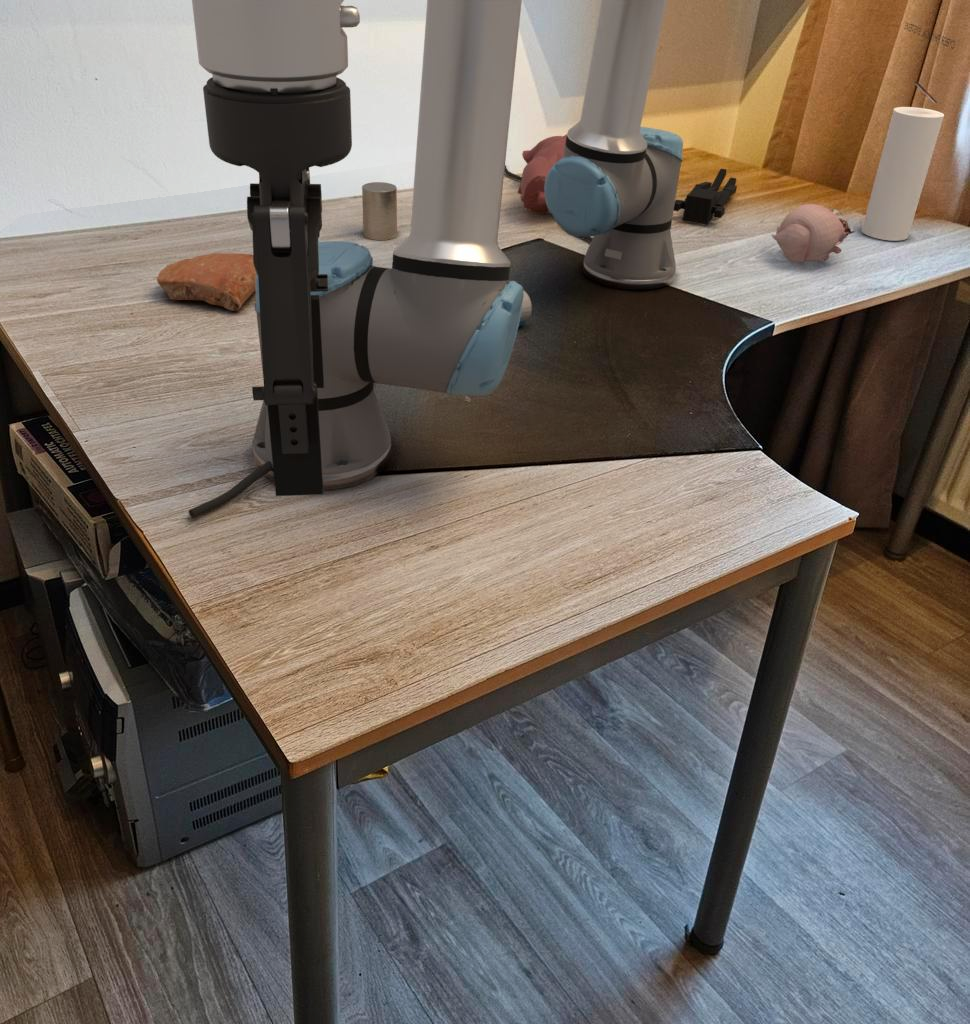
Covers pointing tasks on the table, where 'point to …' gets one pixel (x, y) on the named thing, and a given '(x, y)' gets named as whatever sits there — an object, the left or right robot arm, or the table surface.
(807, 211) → the toy
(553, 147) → the pink toy pig
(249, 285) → the ceramic shard
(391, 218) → the tin
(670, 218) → the right robot arm
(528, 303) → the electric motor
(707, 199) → the toy
